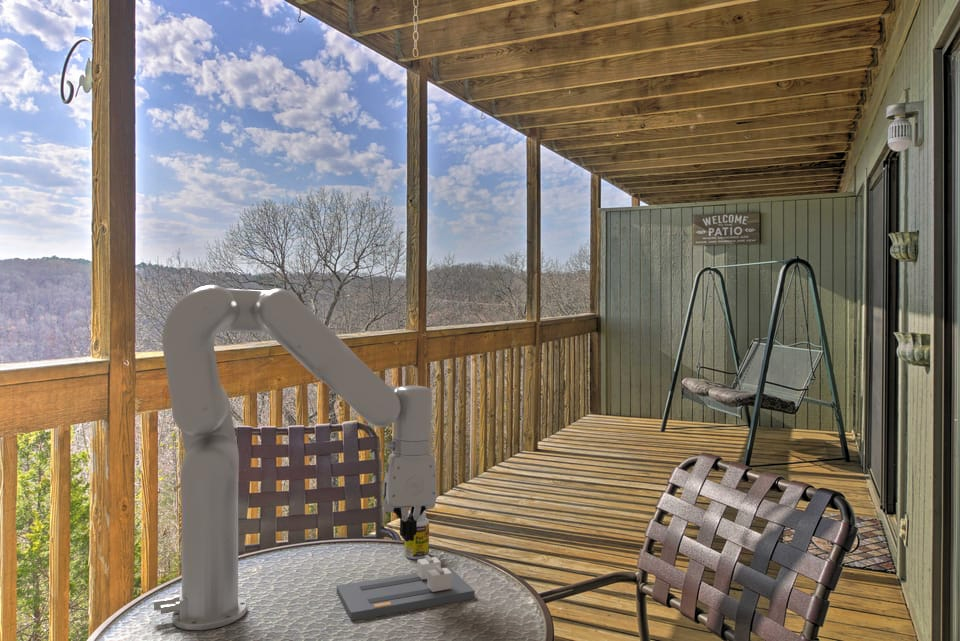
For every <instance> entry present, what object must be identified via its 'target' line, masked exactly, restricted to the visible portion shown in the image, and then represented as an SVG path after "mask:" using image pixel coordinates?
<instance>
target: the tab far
mask: <svg viewBox="0 0 960 641" xmlns="http://www.w3.org/2000/svg"><path fill="white" fill-rule="evenodd" d="M416 560H417V561H416V562H417V563H416V567H417V568H416V569H417V571H416V573H417V575H418V576H419V577H420V578H421V579H422V580H423V579H427V571H429V570H435V566H440V567H441V568H442V563H441V562H442V561H441V560H440V559H439V558H437V557H436V556H433V557H431V556H429V554H428V555H426V556H425V558H422V559H416Z"/></svg>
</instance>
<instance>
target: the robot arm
mask: <svg viewBox="0 0 960 641" xmlns="http://www.w3.org/2000/svg"><path fill="white" fill-rule="evenodd" d="M218 332H239V333H267V334H268V335H269V336H271V337H272V338H273V339H274V340H275V341H276V342H277V343H278V344H280V346H281V347H282V348H284V350H286V351H287V352H288V353H289V354H290V355H291V356H292V357H293V358H294V359H295V360H296V361H298V362H299V363H300V364H301V365H302V366H303V367H304V368H305V369H306V370H307V371H308V372H309V373H310V374H312V375H313V376H314V377H315V378H316V379H317V380H319V381H321V382H322V383H324V384H325V385H326V386H328V387H329V389H331V390H332V391H334V392H335V393H336V394H337V395H338V396H339V397H340V398H341V399H343V401H345V402H346V404H348V405H349V406H350V407H351V408H352V409H353V410H354V411H355V412H356V414H358V416H359V417H361V418H362V419H363V420H365V422H366V423H367V424H369V425H371V426H372V427H375V428H384V427H388V426H390V425H392V424H393V433H392V435H393V436H392V438H391V441H390V442H386V443H385V449H386V450H390V451H391V452H392V453H389V455H388V458H387V463H386V468H385V473H384V481H383V489H382V490H383V491H382V492H383V503H382V510H383V511H384V512H386V513H390V514H391V513H392V514H395V515H396V516H397V517H398V518H399V536H400V537H401V539H403V540H404V542H405V541H409V540H410V541H414V535H416V528H417V520H418V519H419V517H420V515H421V514H422V513H423V512H424V511H429V510H431V509H433V508H434V509H435V506H436V502H437V498H438V497H437V496H438V487H437V486H438V484H437V483H438V482H437V479H438V478H437V467H436V459H435V454H434V453H431V436H432V434H431V433H432V412H433V392H432V390H431V388H430V387H428V386H423V385H413V384H412V385H411V384H410V385H400V386H397V385H388V384H387V383H386V382H385V381H384V380H383V379H382V378H381V377H379V375H378V374H377V373H376V372H374V370H372V369H371V368H370V367H369V366H368V365H367V364H366V363H365V362H363V360H362V359H361V358H359V357H358V356H357V355H356V354H355V353H354V352H353V350H351V348H350V347H349V346H348V345H347V343H345V342H344V341H343V340H342V339H341V338H340V337H339V336H338V335H337V334H336V333H335V332H334V331H333V330H331V329H330V328H329V327H328V325H326V324H325V323H324V322H323V321H322V320H321V319H320V318H319V317H318V316H317V315H316V314H315V313H314V312H313V311H312V310H311V309H310V308H308V307H307V306H306V305H305V304H304V302H302V301H301V300H300V299H299V298H298V297H297V296H296V295H295V294H294V293H293V292H291V291H290V290H287V289H284V288H272V289H269V290H261V289H257V290H256V289H239V288H238V289H236V288H225V287H223V286H221V285H217V284H207V285H203V286H199V287H197V288H195V289H193V290H191V291H190V292H188V293H187V294H185V295H184V296H183V297H182V298H181V299H180V300H179V301H178V302H177V303H175V305H174V306H173V307H172V308H171V310H170V311H169V313H168V315H167V317H166V318H165V322H164V326H163V329H162V339H161V340H162V341H161V342H162V352H163V358H164V365H165V371H166V373H165V374H166V379H167V385H168V390H169V397H170V403H171V409H172V410H171V414H172V419H173V420H174V422H175V424H176V427H178V428H179V430H180V432H181V438H182V441H183V448H184V453H185V456H184V458H183V461H182V464H181V468H180V477H179V479H180V480H179V485H180V486H179V487H180V498H181V499H180V503H181V506H180V507H181V588H179V593H178V594H173V597H167V598H165V597H163V598H155V599H153V612H156V611H160V615H164V614H169V613H172V615H171V619H172V620H171V621H172V624H173V625H174V626H175V627H177V628H180V629H182V630H187V631H204V630H205V631H206V630H212V629H216V628H217V629H218V628H221V627H224V626H226V625H230V624H233V623H235V622H236V621H238V620H240V619H241V618H242V617H243V616H244V615H245V614H246V613H247V611H248V602H247V600H245V599H244V598H242V597H241V596H239V479H240V478H239V473H240V471H239V469H240V468H239V466H240V453H239V446H238V442H237V437H236V436H237V435H236V430H235V425H234V420H233V415H232V414H233V413H232V409H231V404H230V400H229V395H228V394H227V391H226V390H225V389H224V387H223V386H222V385H221V380H220V374H219V370H218V363H217V362H218V360H217V356H216V352H215V345H214V344H215V339H216V336H217V334H218ZM408 508H410V509H409V510H410V513H409V517H408Z"/></svg>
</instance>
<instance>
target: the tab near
mask: <svg viewBox="0 0 960 641" xmlns="http://www.w3.org/2000/svg"><path fill="white" fill-rule="evenodd" d="M447 568H448V567H442V566H441V567H440V566H435V570H429V571H427V586H428V587H429V589H430V590H431V591H432V592H435V591H440V590H446V589H452V573H451V572H450V571H449V570H448V569H447Z"/></svg>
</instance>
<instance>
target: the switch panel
mask: <svg viewBox="0 0 960 641" xmlns="http://www.w3.org/2000/svg"><path fill="white" fill-rule="evenodd" d="M446 568H447V569H448V570H449V571H450V572H451V573H452V589H446V590H440V591H435V592H432V591H431V590H430V589H429V587H428V586H427V579H423V580H422V579H421V578H420V577H419V576H418V575H417V572H414V573H408V574H402V575H401V574H400V575H395V576H389V577H384V578H376V579H371V580H369V579H368V580H364V581H359V582H353V583H345V584H340V585H336V595H337V594H338V595H337V597H338V596H339V597H338V598H340V599H339V601H340V600H341V601H340V602H342V603H341V604H343V605H342V607H343V606H344V607H343V608H344V610H345V612H346V614H347V616H348V618H349V620H350V622H354V621H359V620H363V619H370V618H376V617H382V616H387V615H392V614H395V613H396V614H397V613H402V612H409V611H414V610H419V609H425V608H430V607H435V606H440V605H441V606H442V605H446V604H447V605H448V604H451V603H457V602H458V603H459V602H463V601H467V600H468V601H469V600H473V599H475V593H476V592H475V590H474V589H473V587H471V586H470V585H469V584H468V583H467V582H466V581H465V580H464V579H463V578H462V577H461V576H460V575H459V574H458V573H457V572H456V571H455V570H454V569H453V568H452V567H446Z"/></svg>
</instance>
